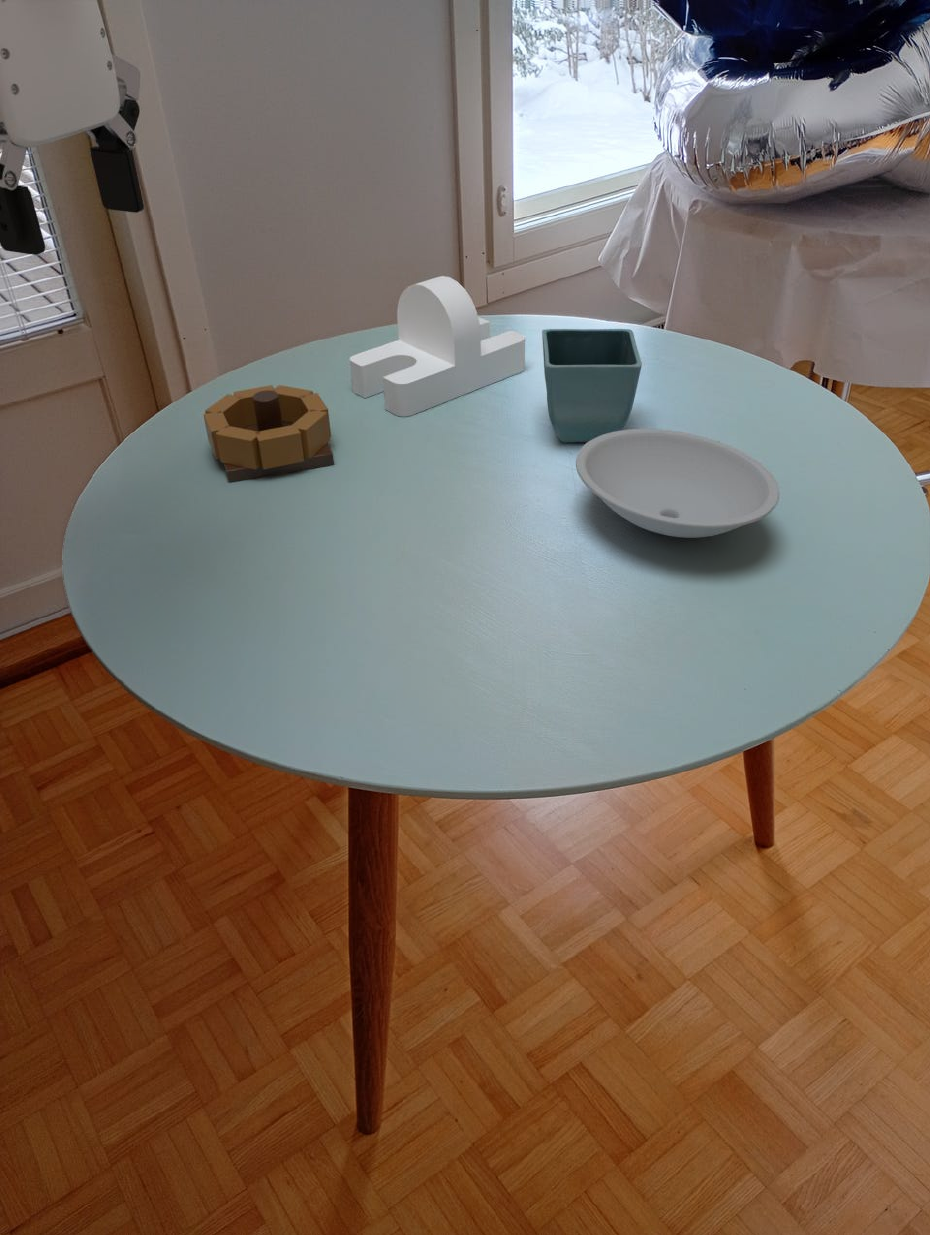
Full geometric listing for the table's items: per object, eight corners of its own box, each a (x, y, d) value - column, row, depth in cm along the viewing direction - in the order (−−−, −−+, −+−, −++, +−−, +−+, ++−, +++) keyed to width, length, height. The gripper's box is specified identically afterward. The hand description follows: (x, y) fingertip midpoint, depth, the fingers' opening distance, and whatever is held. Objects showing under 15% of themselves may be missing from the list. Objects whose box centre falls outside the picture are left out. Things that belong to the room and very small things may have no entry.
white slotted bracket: (529, 368, 110) (531, 272, 103) (402, 418, 101) (396, 316, 94) (472, 344, 116) (471, 251, 109) (348, 389, 107) (338, 291, 100)
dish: (535, 517, 86) (537, 466, 82) (640, 460, 93) (644, 411, 90) (703, 603, 75) (712, 549, 72) (805, 531, 83) (816, 479, 80)
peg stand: (228, 482, 91) (218, 427, 88) (216, 435, 99) (206, 382, 95) (334, 464, 94) (328, 409, 90) (314, 419, 101) (308, 367, 98)
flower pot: (634, 453, 94) (643, 364, 89) (542, 453, 94) (545, 365, 89) (624, 412, 101) (632, 327, 96) (538, 412, 101) (541, 328, 96)
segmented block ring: (223, 478, 90) (218, 448, 88) (201, 426, 98) (196, 398, 96) (342, 453, 93) (338, 424, 91) (311, 405, 101) (307, 378, 99)
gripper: (53, -91, 63) (117, 191, 73) (-183, -73, 50) (-67, 263, 61) (148, -91, 60) (200, 201, 71) (-76, -73, 48) (26, 277, 59)
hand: (76, 229), depth 66 cm, fingers open, 9 cm apart
